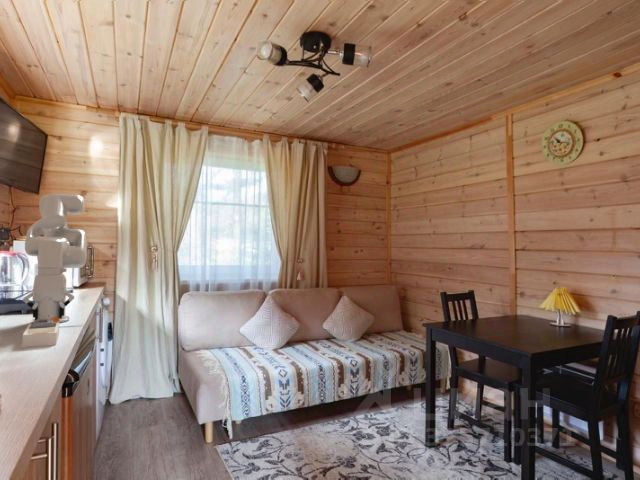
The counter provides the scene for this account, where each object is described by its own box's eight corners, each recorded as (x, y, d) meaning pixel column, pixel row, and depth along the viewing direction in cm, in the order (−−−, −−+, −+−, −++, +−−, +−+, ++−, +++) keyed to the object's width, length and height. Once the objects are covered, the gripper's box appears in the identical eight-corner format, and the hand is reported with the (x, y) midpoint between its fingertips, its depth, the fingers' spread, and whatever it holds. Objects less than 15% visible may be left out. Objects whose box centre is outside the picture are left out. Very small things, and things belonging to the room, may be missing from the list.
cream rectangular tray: (28, 335, 140) (28, 323, 140) (58, 333, 144) (59, 321, 145) (22, 347, 125) (22, 334, 125) (56, 344, 130) (56, 331, 130)
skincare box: (46, 329, 145) (47, 297, 145) (36, 328, 146) (37, 296, 146) (60, 325, 151) (61, 294, 151) (50, 324, 152) (51, 293, 152)
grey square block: (34, 333, 139) (34, 319, 139) (52, 331, 142) (53, 317, 142) (32, 336, 135) (33, 321, 135) (51, 335, 137) (52, 320, 137)
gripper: (77, 270, 156) (75, 314, 156) (22, 270, 147) (21, 318, 147) (77, 272, 149) (75, 319, 150) (19, 273, 140) (18, 322, 141)
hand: (48, 318), depth 148 cm, fingers closed on skincare box, 7 cm apart
